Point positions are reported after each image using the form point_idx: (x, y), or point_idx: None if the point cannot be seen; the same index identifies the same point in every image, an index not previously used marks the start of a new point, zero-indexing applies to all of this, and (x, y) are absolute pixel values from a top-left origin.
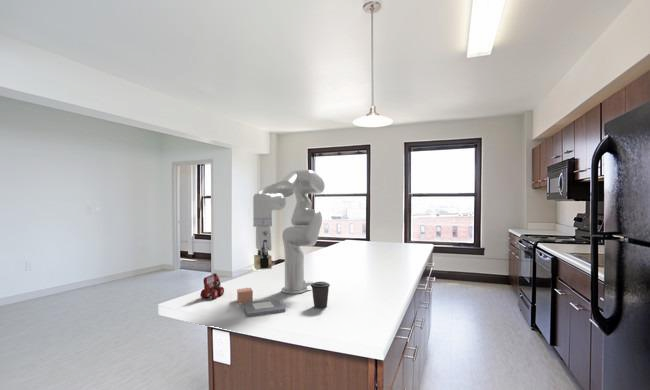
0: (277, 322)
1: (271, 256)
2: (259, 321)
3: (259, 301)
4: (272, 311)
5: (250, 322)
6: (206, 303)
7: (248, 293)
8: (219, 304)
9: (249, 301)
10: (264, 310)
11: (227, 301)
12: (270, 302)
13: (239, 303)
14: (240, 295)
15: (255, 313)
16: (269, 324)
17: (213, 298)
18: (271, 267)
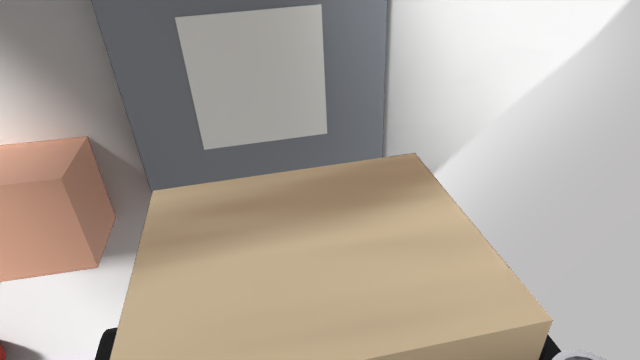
0: (533, 15)
1: (545, 314)
2: (467, 109)
3: (152, 100)
4: (383, 26)
5: (457, 151)
6: (83, 356)
7: (77, 198)
8: (113, 304)
9: (92, 160)
10: (367, 80)
11: (52, 276)
12: (203, 19)
13: (113, 214)
14: (100, 241)
15: (381, 131)
16: (533, 63)
17: (1, 349)
18: (423, 163)
